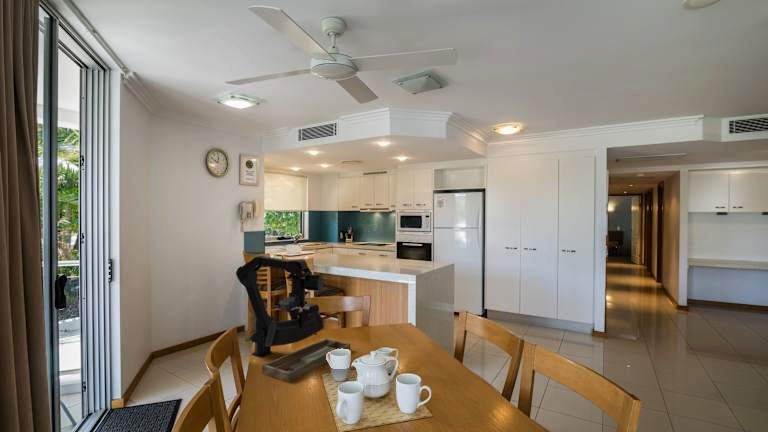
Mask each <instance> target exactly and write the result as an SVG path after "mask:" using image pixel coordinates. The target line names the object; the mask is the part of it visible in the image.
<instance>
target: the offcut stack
mask: <svg viewBox="0 0 768 432" xmlns="http://www.w3.org/2000/svg"><path fill="white" fill-rule="evenodd" d="M335 349H336V348H331V347H327V346H326V347H324V348H322V349H320V350H318V351H316V352H314V353H312V354H310V355H308V356H305V357H303V358H301V359H300V363H297V364H295V365H293V366H291V367H289V371H287V372H291V371H293V370H296V369H298V368H300V367H302V366H304V365H306V364H308V363H310V362H312V361H314V360H316V359H318V358H320V357H322V356H325V355H326V354H327V353H328V352H330V351H332V350H335Z"/></svg>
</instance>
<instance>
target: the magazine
mask: <svg viewBox="0 0 768 432" xmlns="http://www.w3.org/2000/svg"><path fill="white" fill-rule="evenodd" d="M323 328H324V321H323V317H322V316H321V314H320V310H319V311H318V312H315V313H312V314H309V315H308V316H307V318H306V320H305V322H304V325H303V327H302V328H300V325H299V317H298V318H296V319H292V320H291V319H289V320H288V319H287V320H282V321H281V320H279V321H277V320H276V319H275V320H273V321H272V324H271V325H270V327H269V330H268V334H267V338H266V342H265V346H267V347H271V348H272V347H279V346H285V345H290V344H294V343H298V342H301V341H303V340H305V339H308V338H310V337H311V336H313V335H315V336H317V333H318V332H320V331H321V330H323Z"/></svg>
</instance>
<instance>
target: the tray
mask: <svg viewBox="0 0 768 432" xmlns="http://www.w3.org/2000/svg"><path fill="white" fill-rule="evenodd" d="M326 346H327V347H331V348H335V349H336V350H337V348H339V349H341V348H343V349H349V350H350V351H351V343H349V342H348V343H347V342H343V341H339V340H334V339H330V338H327V337H326V338H324V339H321V340H318V341H317V342H314V343H312V344H310V345H307V346H304V347H302V348H300V349H298V350H295V351H292V352H291V353H288V354H286V355H283V356H281V357H279V358H278V357H277V359H276V358H275V359H274V360H271V361H269V362H267V363H265V364H262V365H261V369H262V370H261V374H263V375H265V376H269V377H271V378H273V379H276V380H280V381H283V382H286V383H290V382H293V381H294V380H296V379H298V378H300V377H302V376H304V375H306V374H308V373H310V372H312V371H314V370H316V369H318V368H320V367H321V366H324V365H325V364H328V363H327V360H326V355H325V356H322V357H320V358H318V359H316V360H314V361H312V362H310V363H308V364H306V365H304V366H302V367H300V368H298V369H296V370H293V371H291V372H287V371H289V367H291V366H293V365H295V364H297V363H300V359H301V358H303V357H305V356H308V355H310V354H312V353H314V352H316V351H318V350H320V349H322V348H324V347H326Z"/></svg>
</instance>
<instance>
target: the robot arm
mask: <svg viewBox="0 0 768 432" xmlns="http://www.w3.org/2000/svg"><path fill="white" fill-rule="evenodd" d="M262 267H267V268H268V267H269V268H274V269H280V270H284V271H285V272H287V273H289V274H288V276H286V279H287V280H291V284H290V285H291V288H290V290H291V291H290V292H288V296H287V297H286V298H284V299H282V300H279V301H278V303H277V309H280V310H281V311H285V312H286V313H288V315H289V317H290V320H292V319H296V318H299V325H300V328H302V327H303V325H304V322H305V320H306V318H307V316H308V315H309V314H312V313H315V312H318V311H319V312H320V306H319V305H318V304H316V303H308V301H307V300H306V295H307V294H308V291H314V292H321V291H323V288H324V280H323V279H324V278H322V274H320V273H318V274H317V273H316V274H313V272H312V271H311V269H310V268H309V266H308V263H307V261H306V259H303V258H299V259H298V258H297V259H296V258H294V259H283V258H277V257H273V256H272V257H271V256H267V255H266V256H265V255H257V256H254V258H252V259H251V260H250V261H248V262H246V263H245V264H244V265H242V266H238V268H237V269H236V271H235V275H236V278H237V280H238V281H239V283H240V284H241V285H242V286H244V288H245V290H246V293H247V295H248V299H249V302H250V305H251V308H252V310H253V313H254V316H255V330H256V332H254V334H253V335H251V337H250V340H251V342H252V343H254V352H252V353H251V355H252V356H255V357H258V358H263V357H266V356H268V355H271V354H273V353H274V350H273V351H272V350H271V349H272V346H271V347H267V346H265V342H266V338H267V334H268V330H269V327H270V325H271V324H272V321H273V320H275V321H276V319H275V316H274V315H272V316H270V315H269V314H268V311H267V309H266V305H265V302H264V300H263V297H262V293H261V291H260V288H259V285H258V272H259V270H261V268H262Z"/></svg>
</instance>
